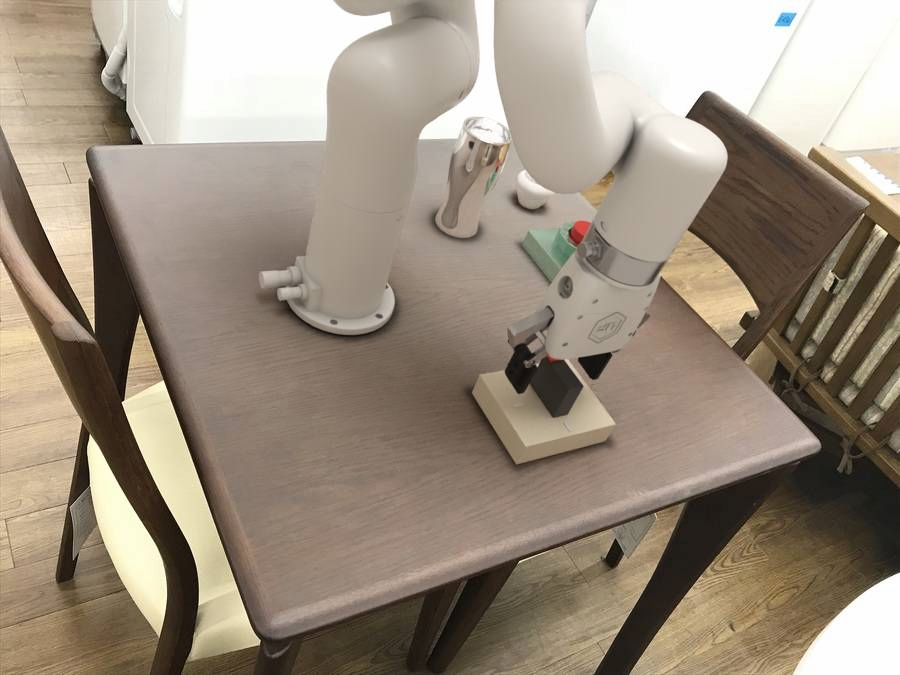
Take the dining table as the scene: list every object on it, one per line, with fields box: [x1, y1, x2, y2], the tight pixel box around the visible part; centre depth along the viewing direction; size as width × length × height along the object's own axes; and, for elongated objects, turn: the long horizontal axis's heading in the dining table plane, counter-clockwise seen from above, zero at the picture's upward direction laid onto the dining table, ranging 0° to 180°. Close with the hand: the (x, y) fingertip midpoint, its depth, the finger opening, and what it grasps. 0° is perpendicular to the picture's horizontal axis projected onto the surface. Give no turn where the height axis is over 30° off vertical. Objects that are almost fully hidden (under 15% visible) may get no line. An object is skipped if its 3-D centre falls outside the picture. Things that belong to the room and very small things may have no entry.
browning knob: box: [530, 354, 584, 418], centre depth 80 cm, size 5×2×5 cm, turn 27°
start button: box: [570, 220, 591, 244], centre depth 105 cm, size 4×4×2 cm
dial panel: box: [471, 359, 617, 465], centre depth 83 cm, size 12×10×3 cm
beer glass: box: [434, 116, 513, 239], centre depth 102 cm, size 7×7×15 cm
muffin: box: [515, 169, 556, 210], centre depth 114 cm, size 6×6×7 cm
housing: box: [521, 221, 579, 284], centre depth 107 cm, size 12×9×4 cm
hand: (551, 376), depth 80 cm, fingers open, 9 cm apart
